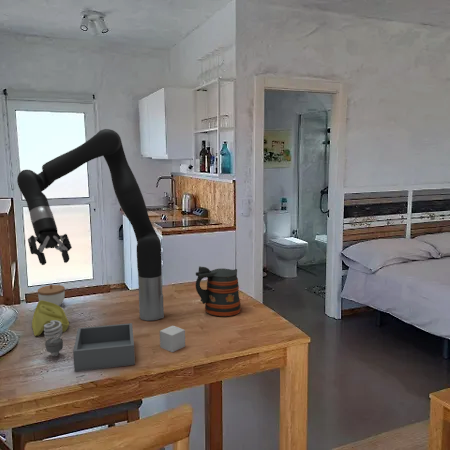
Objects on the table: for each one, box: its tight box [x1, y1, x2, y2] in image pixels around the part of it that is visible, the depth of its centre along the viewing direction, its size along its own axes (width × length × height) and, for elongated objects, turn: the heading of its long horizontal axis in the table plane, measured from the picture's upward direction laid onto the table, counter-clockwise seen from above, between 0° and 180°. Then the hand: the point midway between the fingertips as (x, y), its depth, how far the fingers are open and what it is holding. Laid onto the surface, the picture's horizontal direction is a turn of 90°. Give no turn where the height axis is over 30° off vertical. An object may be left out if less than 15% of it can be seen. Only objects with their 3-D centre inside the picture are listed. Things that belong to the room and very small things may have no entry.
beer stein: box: [195, 266, 242, 317], centre depth 184 cm, size 19×15×20 cm
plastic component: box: [31, 300, 70, 337], centre depth 172 cm, size 20×7×10 cm
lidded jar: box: [37, 284, 66, 307], centre depth 192 cm, size 11×11×9 cm
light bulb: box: [43, 320, 64, 357], centre depth 147 cm, size 6×6×12 cm
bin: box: [72, 322, 136, 372], centre depth 148 cm, size 18×18×6 cm
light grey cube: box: [159, 325, 186, 353], centre depth 154 cm, size 6×6×6 cm
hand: (55, 262), depth 157 cm, fingers open, 8 cm apart
